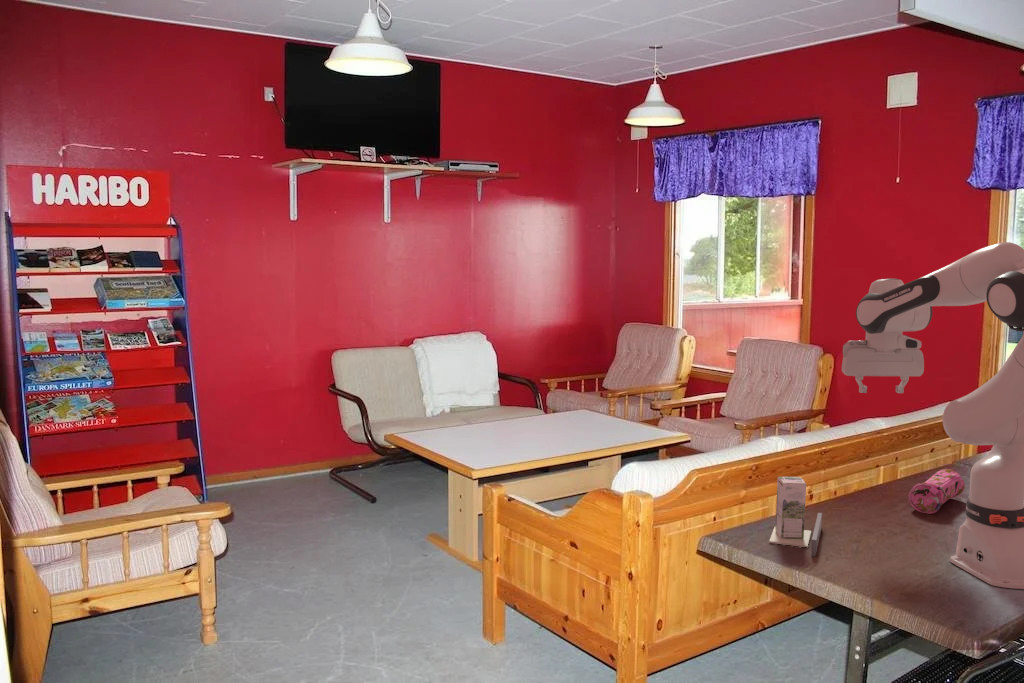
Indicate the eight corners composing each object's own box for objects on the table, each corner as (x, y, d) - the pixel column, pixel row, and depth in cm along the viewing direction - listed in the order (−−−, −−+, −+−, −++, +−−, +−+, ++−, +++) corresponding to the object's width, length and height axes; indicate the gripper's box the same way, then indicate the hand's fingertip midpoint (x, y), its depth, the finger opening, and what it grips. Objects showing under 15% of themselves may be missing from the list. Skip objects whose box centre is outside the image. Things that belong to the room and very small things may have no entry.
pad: (811, 533, 221) (811, 530, 221) (807, 548, 210) (807, 545, 210) (774, 528, 224) (774, 526, 224) (769, 543, 213) (769, 541, 213)
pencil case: (942, 518, 233) (943, 486, 231) (906, 511, 239) (907, 479, 238) (965, 500, 248) (967, 470, 247) (931, 494, 254) (932, 464, 253)
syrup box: (798, 531, 220) (800, 475, 218) (804, 539, 214) (806, 482, 212) (775, 531, 220) (777, 475, 219) (780, 539, 214) (782, 481, 213)
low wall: (821, 528, 224) (822, 513, 224) (815, 556, 204) (816, 540, 204) (817, 527, 225) (818, 512, 224) (811, 555, 205) (811, 539, 204)
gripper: (847, 341, 224) (844, 394, 226) (928, 342, 223) (925, 395, 224) (839, 339, 230) (837, 390, 232) (917, 339, 229) (915, 390, 231)
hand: (881, 392), depth 228 cm, fingers open, 8 cm apart
